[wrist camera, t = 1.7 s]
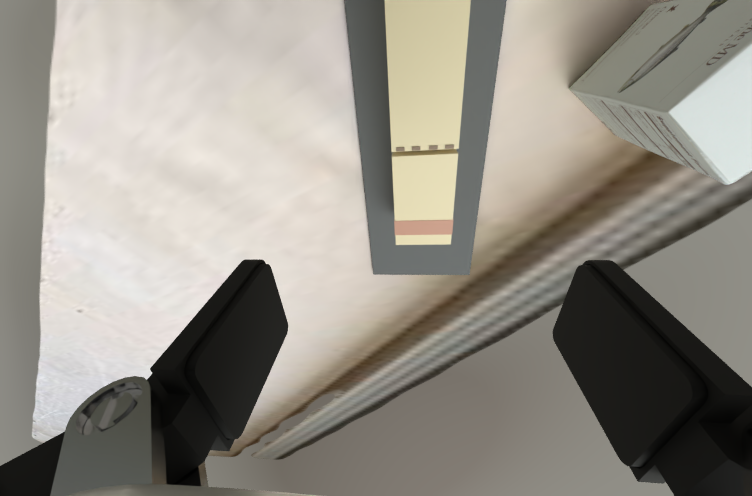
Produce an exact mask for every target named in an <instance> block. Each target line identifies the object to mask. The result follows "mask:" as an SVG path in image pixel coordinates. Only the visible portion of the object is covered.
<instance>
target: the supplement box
mask: <svg viewBox="0 0 752 496" xmlns="http://www.w3.org/2000/svg"><path fill="white" fill-rule="evenodd" d="M569 89H570V90H571V91H572V92H573V93H574V94H575V95H576V96H577V97H578V98H579V99H580V100H581V101H582V102H583V103H584V104H585V105H586V106H587V107H588V108H589V109H590V110H591V111H592V112H593V113H594V114H595V115H596V116H597V117H598V118H599V119H600V120H601V121H602V122H603V123H604V124H605V125H606V126H607V127H608V128H609V129H610V130H611V131H612V132H613V133H614V134H615V135H616V136H618V137H620V138H622V139H624V140H627V141H629V142H631V143H633V144H635V145H637V146H640V147H642V148H644V149H647V150H649V151H651V152H654V153H656V154H658V155H660V156H663V157H665V158H668V159H670V160H672V161H675V162H677V163H680V164H682V165H684V166H686V167H689V168H691V169H693V170H696V171H698V172H700V173H703V174H705V175H707V176H709V177H711V178H713V179H715V180H717V181H719V182H721V183H723V184H725V185H729V184H732V183H734V182H736V181H737V180H739V179H740V178H742V177H744V176H745V175H747V174H748V173H750V172H751V171H752V0H672V1H668V2H662V3H656V4H652V5H650V6H649V7H648V8H647V9H646V10H645V11H644V13H643V14H642V15H641V16H640V17H639V18H638V19H637V20H636V21H635V22H634V23H633V24H632V26H631V27H630V28H629V29H628V30H627V31H626V32H625V33H624V34H623V35H622V36H621V37H620V38H619V39H618V40H617V41H616V42H615V43H614V44H613V45H612V46H611V47H610V48H609V49H608V50H607V51H606V52H605V53H604V54H603V55H602V56H601V57H600V58H599V59H598V60H597V61H596V62H595V63H594V64H593V65H592V66H591V67H590V68H589V69H588V70H587V71H586V72H585V73H584V74H583V75H582V76H581V77H580V78H579V79H578V80H577V81H576V82H575V83H574V84H573V85H572V86H571V87H570V88H569Z"/></svg>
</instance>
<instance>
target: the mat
mask: <svg viewBox="0 0 752 496" xmlns="http://www.w3.org/2000/svg"><path fill="white" fill-rule="evenodd" d="M344 1H345V10H346V19H347V29H348V38H349V48H350V57H351V67H352V76H353V86H354V95H355V104H356V114H357V123H358V133H359V142H360V152H361V161H362V170H363V180H364V189H365V199H366V208H367V218H368V227H369V236H370V246H371V255H372V265H373V274H389V275H469V274H470V266H471V259H472V252H473V244H474V237H475V229H476V222H477V215H478V207H479V200H480V192H481V185H482V178H483V170H484V163H485V155H486V148H487V141H488V133H489V126H490V118H491V111H492V104H493V96H494V89H495V81H496V74H497V67H498V59H499V52H500V44H501V37H502V30H503V22H504V15H505V7H506V0H471V5H470V17H469V29H468V41H467V53H466V65H465V78H464V90H463V102H462V114H461V126H460V138H459V149H456V150H457V152H458V163H457V175H456V187H455V199H454V211H453V231H452V236H451V244H447V245H396V237H395V228H394V218H395V216H394V194H393V173H392V153H393V152H392V151H391V130H390V108H389V87H388V65H387V43H386V22H385V0H344Z"/></svg>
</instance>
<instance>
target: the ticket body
mask: <svg viewBox="0 0 752 496" xmlns="http://www.w3.org/2000/svg"><path fill="white" fill-rule="evenodd" d="M470 5H471V0H385V22H386V43H387V65H388V87H389V108H390V130H391V151H392V152H403V151H422V150H442V149H459V138H460V126H461V114H462V102H463V90H464V78H465V65H466V53H467V41H468V29H469V17H470Z"/></svg>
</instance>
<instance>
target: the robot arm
mask: <svg viewBox="0 0 752 496" xmlns="http://www.w3.org/2000/svg"><path fill="white" fill-rule="evenodd" d="M287 331H288V322H287V319H286V316H285V312H284V309H283V306H282V302H281V299H280V296H279V292H278V289H277V286H276V283H275V279H274V276H273V273H272V269H271V267H270V265H269V264H266V263H265V262H264V260H243V261H242V262H241V263H240V264H239V265H238V267H237V268H236V269H235V270H234V271H233V272H232V274H231V275H230V276H229V277H228V278H227V279H226V281H225V282H224V283H223V284H222V285H221V286H220V288H219V289H218V290H217V291H216V292H215V293H214V295H213V296H212V297H211V298H210V299H209V300H208V302H207V303H206V304H205V305H204V306H203V307H202V309H201V310H200V311H199V312H198V313H197V314H196V316H195V317H194V318H193V319H192V320H191V321H190V323H189V324H188V325H187V326H186V327H185V328H184V330H183V331H182V332H181V333H180V334H179V336H178V337H177V338H176V339H175V340H174V341H173V343H172V344H171V345H170V346H169V347H168V348H167V350H166V351H165V352H164V353H163V354H162V355H161V357H160V358H159V359H158V360H157V361H156V362H155V364H154V365H153V366H152V367H151V368H150V370H151V371H152V375H151V376H150V377H149V378H148V379H147V380H146V379H145V378H143V377H137V376H133V377H127V378H123V379H120V380H117V381H115V382H112V383H110V384H108V385H107V386H105V387H103V388H101V389H100V390H98V391H97V392H95V393H94V394H93V395H91V396H90V397H89V398H88V399H86V400H85V401H84V402H83V403H82V404H81V405H80V406H79V407H78V408H77V410H76V411H75V412H74V414H73V415H72V416H71V418H70V420H69V422H68V424H67V427H66V430H65V432H63V433H61V434H60V435H58V436H56V437H54V438H52V439H50V440H48V441H46V442H45V443H43V444H41V445H39V446H38V447H35V448H33V449H31V450H30V451H28V452H26V453H24V454H22V455H20V456H18V457H16V458H14V459H13V460H11V461H9V462H7V463H5V464H3V465H1V466H0V496H320V495H307V494H296V493H283V492H271V491H259V490H247V489H234V488H217V487H208V481H207V475H206V468H205V462H204V461H205V459H206V457H207V455H208V453H209V451H210V450H217V451H229V450H230V448H231V446H232V444H233V442H234V440H235V439H238V438H239V437H240V436H241V435H242V433H243V431H244V429H245V426H246V424H247V422H248V420H249V417H250V415H251V413H252V411H253V408H254V406H255V404H256V402H257V399H258V397H259V395H260V393H261V391H262V388H263V386H264V384H265V382H266V379H267V377H268V375H269V373H270V370H271V368H272V366H273V364H274V362H275V359H276V357H277V355H278V353H279V350H280V348H281V346H282V344H283V341H284V339H285V337H286V335H287ZM553 339H554V342H555V344H556V345H557V347H558V349H559V351H560V352H561V354H562V356H563V358H564V360H565V361H566V363H567V365H568V367H569V369H570V371H571V372H572V374H573V376H574V378H575V380H576V381H577V383H578V385H579V387H580V389H581V390H582V392H583V394H584V396H585V398H586V399H587V401H588V403H589V405H590V407H591V408H592V410H593V412H594V414H595V416H596V417H597V419H598V421H599V423H600V425H601V426H602V428H603V430H604V432H605V434H606V436H607V437H608V439H609V441H610V443H611V445H612V446H613V448H614V450H615V452H616V454H617V455H618V457H619V459H620V460H621V461H622V462H623V463H624V464H625V465H627V466H629V467H630V468H631V470H632V472H633V474H634V476H635V477H636V479H637V481H638V482H651V483H664V482H666V483H667V484H668V486H669V487H670V489H671V491H672V492H673V494H674V496H752V387H751V386H750V385H749V384H748V383H746V382H745V381H744V380H743V379H742V378H741V377H740V376H739V375H738V374H737V373H736V372H734V371H733V370H732V369H731V368H730V367H729V366H728V365H727V364H725V362H723V361H722V360H721V359H720V358H719V357H718V356H717V355H716V354H715V353H713V352H712V351H711V350H710V349H709V348H708V347H707V346H706V345H705V344H704V343H702V342H701V341H700V340H699V339H698V338H697V337H696V336H695V335H694V334H692V333H691V332H690V331H689V330H688V329H687V328H686V327H685V326H684V325H683V324H682V323H681V322H679V321H678V320H677V319H676V318H675V317H674V316H673V315H672V314H671V313H669V311H667V310H666V309H665V308H664V307H663V306H662V305H661V304H660V303H659V302H658V301H656V300H655V299H654V298H653V297H652V296H651V295H650V294H649V293H648V292H647V291H645V290H644V289H643V288H642V287H641V286H640V285H639V284H638V283H636V282H635V281H634V280H633V279H632V278H631V277H630V276H629V275H628V274H627V273H626V272H625V271H623V270H622V269H621V268H620V267H619V266H618V265H617V264H616V263H614V262H613V261H610V260H588V261H586V262H584V263H583V265H580V266H578V267H577V269H576V272H575V274H574V277H573V279H572V282H571V285H570V287H569V290H568V292H567V295H566V298H565V300H564V303H563V305H562V308H561V311H560V313H559V316H558V318H557V321H556V324H555V326H554V329H553Z"/></svg>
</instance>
